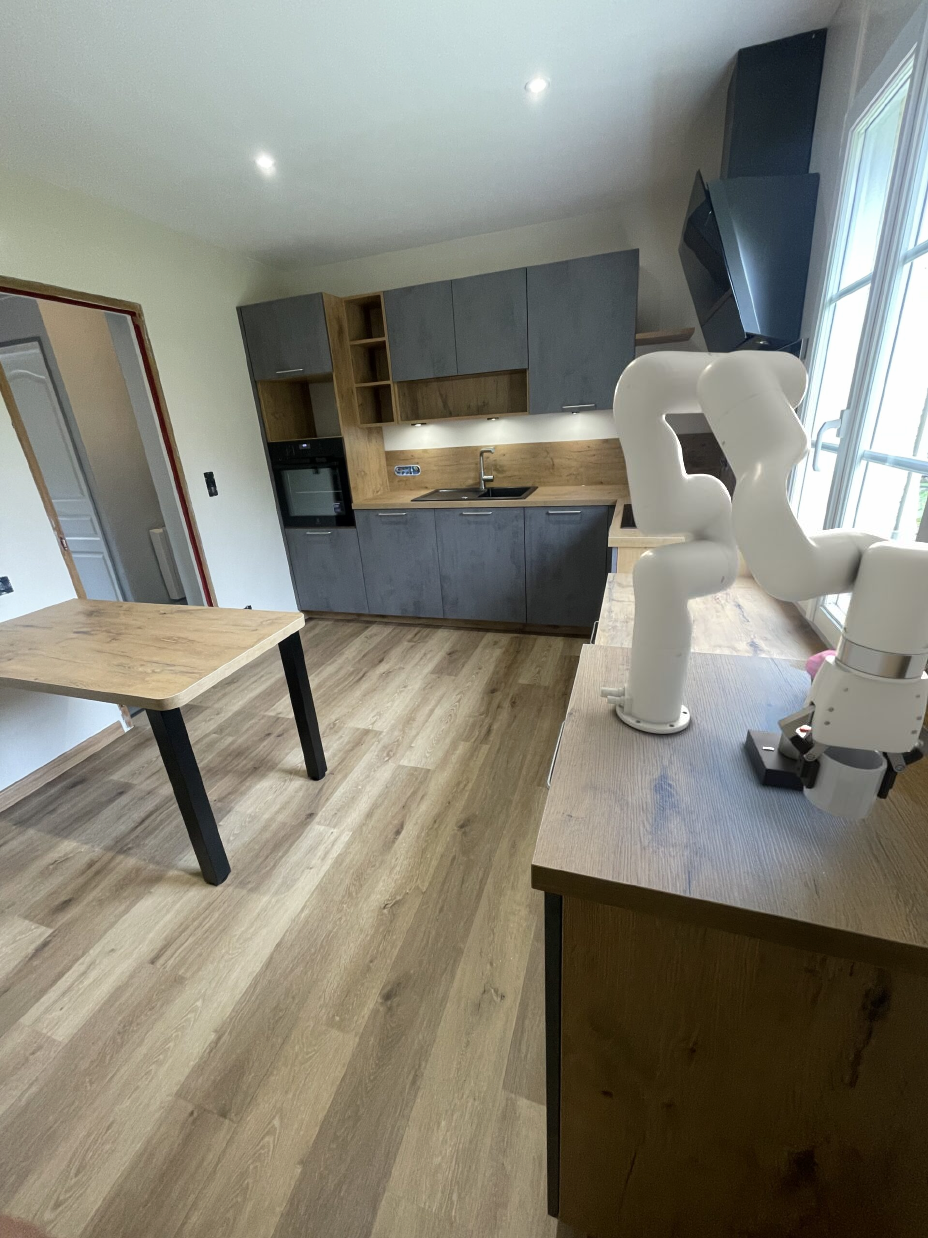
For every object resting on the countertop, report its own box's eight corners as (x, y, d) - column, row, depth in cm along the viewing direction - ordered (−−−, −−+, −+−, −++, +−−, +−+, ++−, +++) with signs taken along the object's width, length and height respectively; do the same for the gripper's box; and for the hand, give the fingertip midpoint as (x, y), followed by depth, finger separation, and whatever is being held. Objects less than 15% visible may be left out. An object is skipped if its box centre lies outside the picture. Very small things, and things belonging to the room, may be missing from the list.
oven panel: (762, 785, 71) (766, 767, 70) (744, 744, 80) (748, 728, 79) (841, 796, 68) (847, 778, 67) (814, 753, 77) (818, 736, 76)
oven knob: (783, 758, 72) (789, 734, 70) (774, 742, 75) (780, 718, 74) (813, 762, 71) (821, 737, 69) (803, 746, 74) (810, 722, 73)
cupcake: (795, 703, 91) (808, 656, 87) (800, 684, 97) (812, 639, 93) (855, 719, 86) (871, 668, 82) (856, 698, 92) (870, 650, 88)
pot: (814, 814, 58) (829, 766, 56) (795, 777, 64) (807, 733, 62) (882, 824, 56) (899, 775, 54) (855, 785, 63) (869, 739, 60)
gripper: (954, 648, 54) (907, 777, 61) (779, 636, 59) (752, 757, 65) (1003, 679, 48) (944, 820, 54) (801, 663, 52) (769, 796, 59)
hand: (839, 785), depth 60 cm, fingers closed on pot, 6 cm apart
